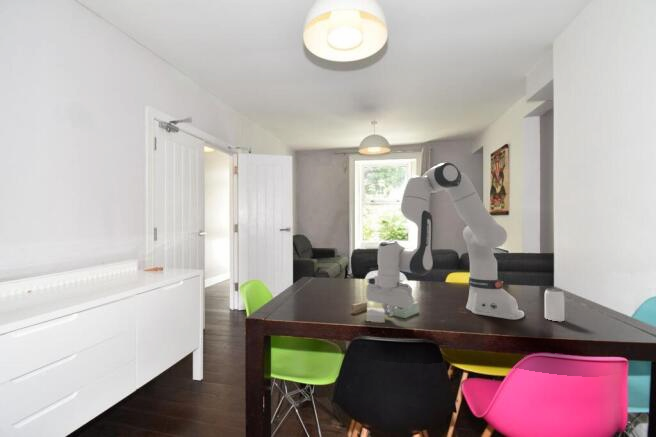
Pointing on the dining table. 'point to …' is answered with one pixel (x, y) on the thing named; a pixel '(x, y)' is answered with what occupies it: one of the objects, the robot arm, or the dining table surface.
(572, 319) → the dining table surface
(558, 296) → the can
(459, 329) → the dining table surface
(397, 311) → the cradle
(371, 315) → the slab
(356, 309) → the wooden brick
